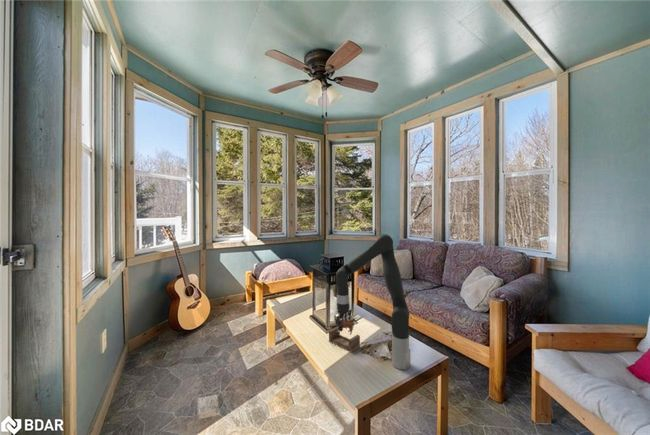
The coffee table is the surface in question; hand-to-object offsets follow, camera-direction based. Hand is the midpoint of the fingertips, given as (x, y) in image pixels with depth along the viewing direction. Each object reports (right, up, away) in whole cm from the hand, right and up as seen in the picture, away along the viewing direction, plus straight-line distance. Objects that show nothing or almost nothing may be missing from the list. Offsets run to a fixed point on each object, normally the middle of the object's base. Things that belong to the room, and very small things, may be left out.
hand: (343, 329), depth 151 cm
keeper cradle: (+1, -16, +15) cm, 22 cm away
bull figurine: (0, -2, 0) cm, 2 cm away
